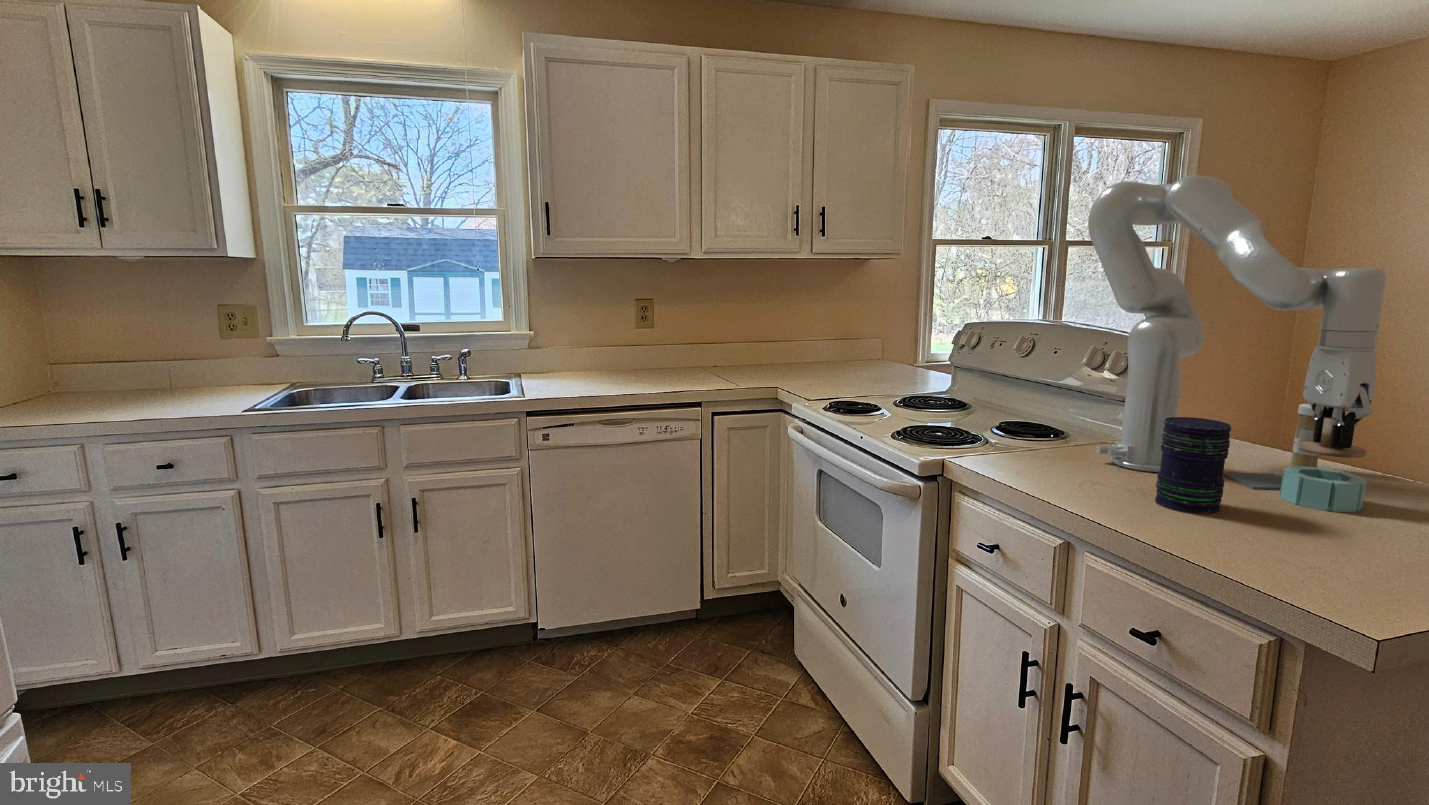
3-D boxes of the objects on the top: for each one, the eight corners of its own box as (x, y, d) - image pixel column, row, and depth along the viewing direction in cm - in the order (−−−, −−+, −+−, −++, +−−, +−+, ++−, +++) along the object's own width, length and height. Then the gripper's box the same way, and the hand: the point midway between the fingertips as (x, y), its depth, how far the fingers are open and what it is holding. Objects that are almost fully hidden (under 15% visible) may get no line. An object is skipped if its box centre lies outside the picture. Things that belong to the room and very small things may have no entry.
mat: (1253, 489, 136) (1253, 486, 136) (1220, 474, 145) (1221, 472, 145) (1309, 490, 135) (1309, 488, 135) (1272, 475, 145) (1272, 473, 145)
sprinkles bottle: (1292, 464, 153) (1302, 402, 150) (1320, 468, 149) (1330, 405, 147) (1286, 467, 150) (1296, 405, 148) (1314, 472, 147) (1324, 408, 144)
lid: (1323, 457, 122) (1328, 424, 121) (1286, 445, 131) (1290, 414, 130) (1379, 458, 121) (1385, 424, 120) (1338, 445, 130) (1343, 414, 129)
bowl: (1310, 511, 123) (1314, 483, 122) (1266, 491, 134) (1270, 465, 133) (1378, 512, 122) (1383, 484, 121) (1329, 493, 133) (1333, 467, 132)
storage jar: (1142, 502, 128) (1151, 420, 125) (1172, 493, 133) (1181, 414, 130) (1202, 518, 120) (1214, 431, 117) (1232, 508, 124) (1243, 425, 122)
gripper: (1289, 337, 131) (1276, 434, 134) (1362, 345, 115) (1345, 456, 118) (1333, 337, 131) (1319, 435, 134) (1412, 345, 114) (1394, 456, 118)
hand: (1331, 444), depth 126 cm, fingers closed on lid, 3 cm apart
